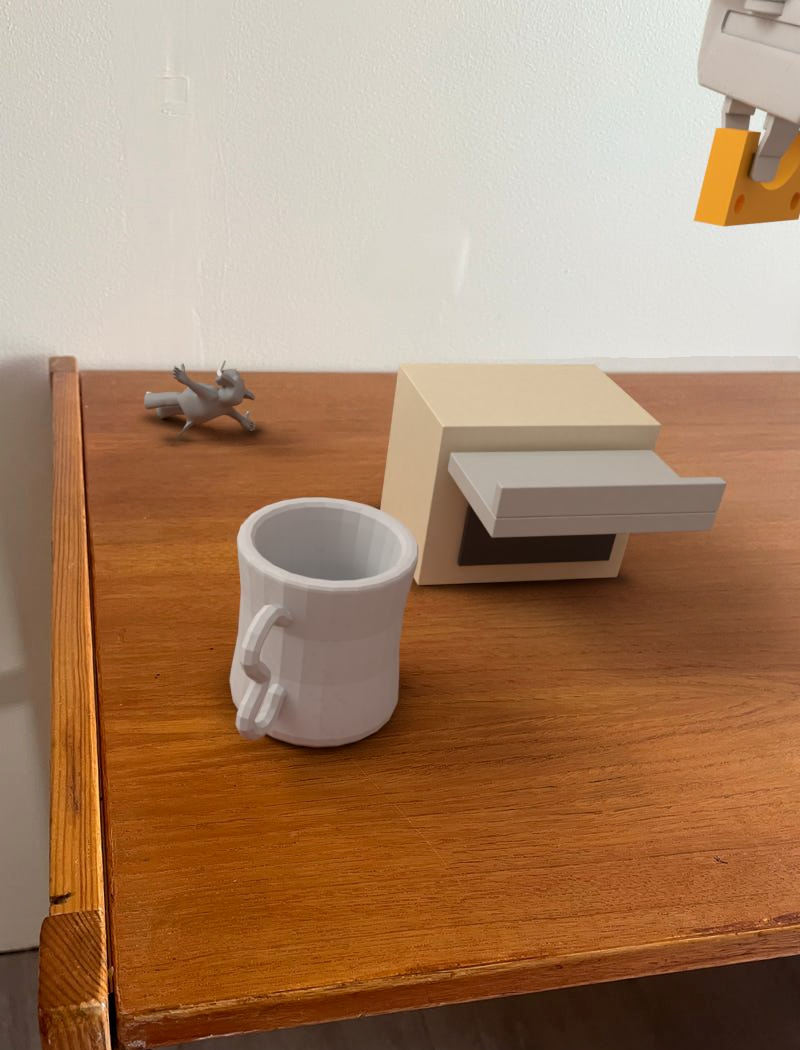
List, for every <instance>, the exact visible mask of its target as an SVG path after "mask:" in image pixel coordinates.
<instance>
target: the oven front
mask: <svg viewBox="0 0 800 1050" xmlns="http://www.w3.org/2000/svg"><path fill="white" fill-rule="evenodd" d="M390 423H391V424H390V429H389V438H388V445H387V453H386V454H387V455H386V460H385V461H386V462H385V468H384V477H383V484H382V485H383V486H382V492H381V499H380V509H379V510H381V511H384V512H386V513H388V514H389V515H391V516H392V517H394V518H396V519H397V520H399V521H401V522H402V523H403V524H404V525H405V526H406V527H407V528H408V529H409V530H410V531H411V532H412V534H413V536H414V538H415V540H416V542H417V544H418V546H419V548H418V563H417V567H416V570H415V574H414V577H413V580H414V581H415V583H416V585H417V586H435V585H436V586H438V585H457V584H458V585H459V584H481V583H482V584H485V583H508V582H530V581H531V582H532V581H535V582H536V581H557V580H581V579H605V578H606V579H607V578H608V579H609V578H617V577H618V575H619V572H620V568H621V565H622V562H623V558H624V554H625V552H626V551H625V550H626V548H627V544H628V540H629V538H630V534H654V533H655V534H656V533H657V534H658V533H682V532H683V533H685V532H687V533H688V532H710V531H712V529H713V525H714V523H715V519H716V517H717V512H718V511H719V508H720V504H721V503H722V500H723V497H724V495H725V490H726V487H727V484H728V483H727V481H725V480H724V479H723V478H722V477H721V476H700V477H698V476H697V477H693V476H691V477H680V476H679V474H677V472H675V470H673V469H672V468H671V466H669V465H668V464H667V463H666V462H665V461H664V460H663V459H662V458H661V457H660V456H659V455H658V454H657V453H656V452H654V451H655V448H656V445H657V441H658V438H659V434H660V431H661V427H662V423H660V422H659V421H658V420H657V419H655V418H654V417H653V415H651V413H649V412H648V411H647V410H645V408H644V407H643V406H641V404H640V403H638V402H637V401H636V400H635V399H634V398H632V397H631V396H630V394H628V393H627V392H626V391H625V390H624V389H622V388H621V387H620V386H619V385H618V384H617V383H616V382H615V381H613V379H611V378H610V377H609V376H608V375H607V374H606V373H605V372H604V371H603V370H602V369H600V368H599V367H598V366H597V364H591V363H589V364H587V363H586V364H583V363H582V364H581V363H579V364H578V363H577V364H575V363H573V364H572V363H571V364H570V363H568V364H567V363H427V362H426V363H422V362H421V363H420V362H419V363H418V362H417V363H416V362H415V363H413V362H411V363H409V362H406V363H401V362H400V363H398V367H397V376H396V384H395V391H394V400H393V407H392V415H391V421H390Z"/></svg>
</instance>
